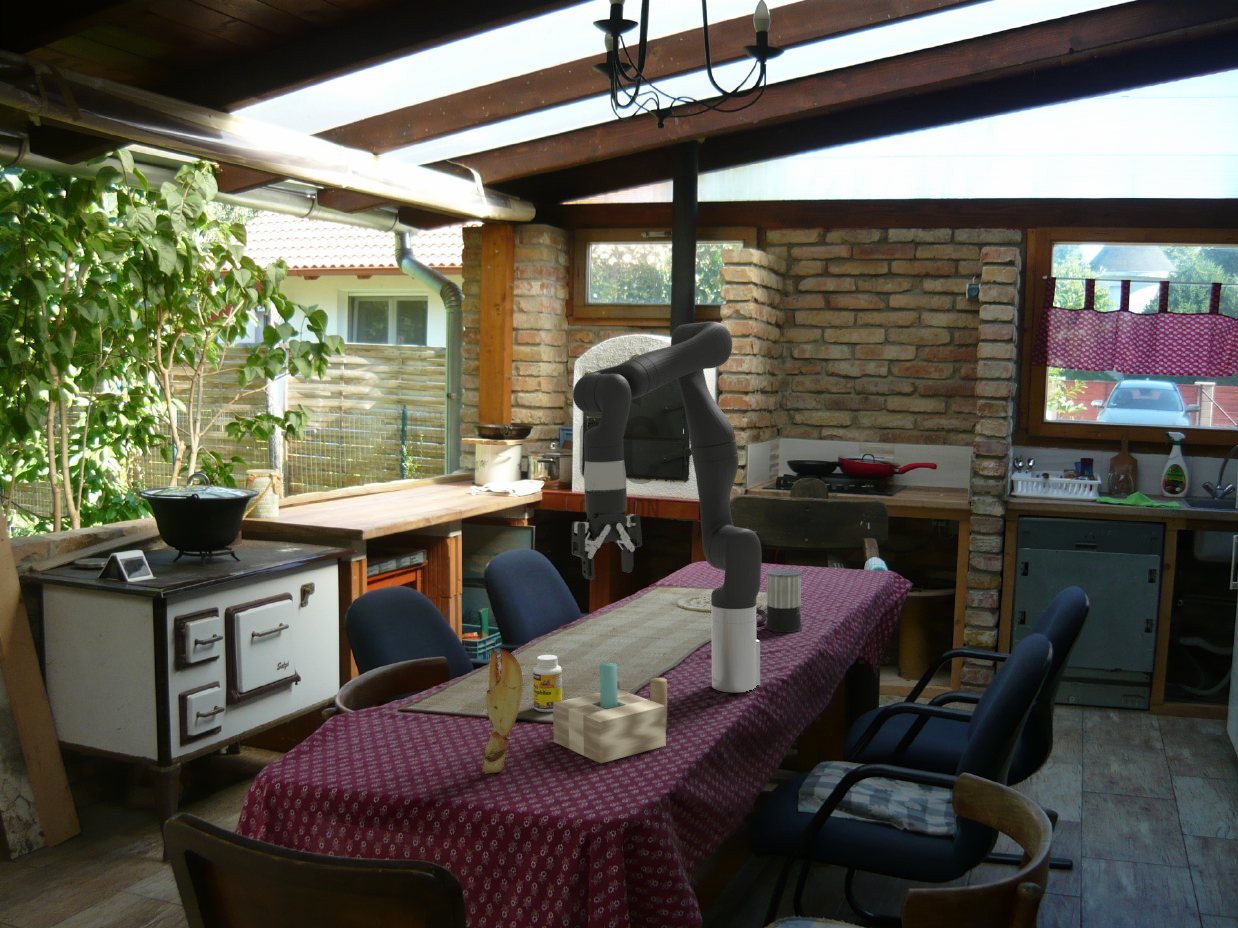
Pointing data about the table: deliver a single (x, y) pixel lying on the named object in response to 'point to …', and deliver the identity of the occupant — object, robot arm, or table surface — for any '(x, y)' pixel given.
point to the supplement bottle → (547, 683)
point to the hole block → (609, 726)
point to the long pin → (608, 685)
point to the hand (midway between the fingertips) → (608, 575)
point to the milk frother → (782, 601)
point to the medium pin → (659, 692)
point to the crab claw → (501, 707)
